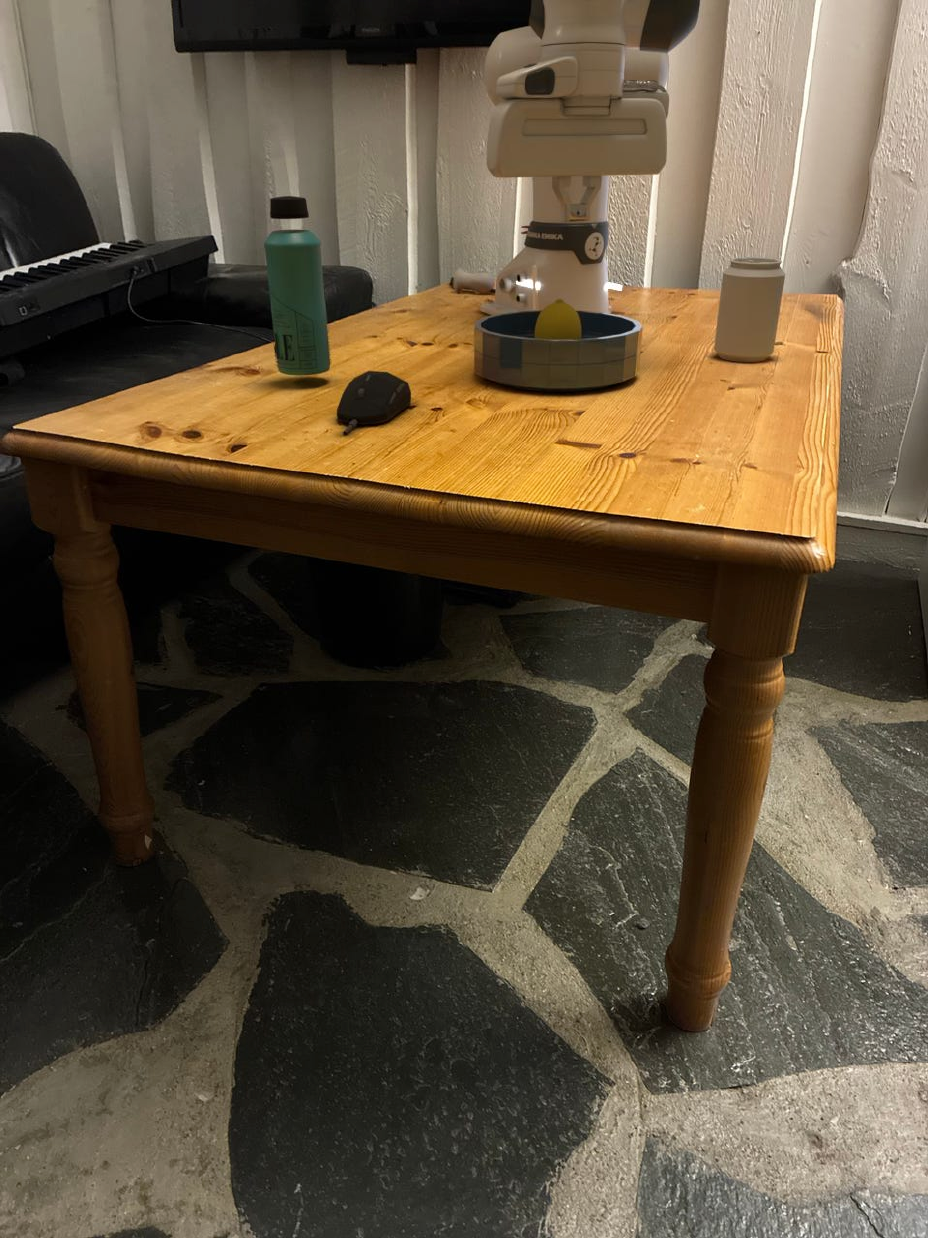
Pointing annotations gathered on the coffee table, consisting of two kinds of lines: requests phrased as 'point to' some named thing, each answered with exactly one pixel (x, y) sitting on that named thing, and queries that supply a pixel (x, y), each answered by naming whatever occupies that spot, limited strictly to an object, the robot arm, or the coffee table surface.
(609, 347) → the bowl
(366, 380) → the gaming mouse
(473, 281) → the smooth white sculpture
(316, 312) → the beverage bottle
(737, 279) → the can
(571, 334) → the lemon
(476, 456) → the coffee table surface
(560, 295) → the robot arm
